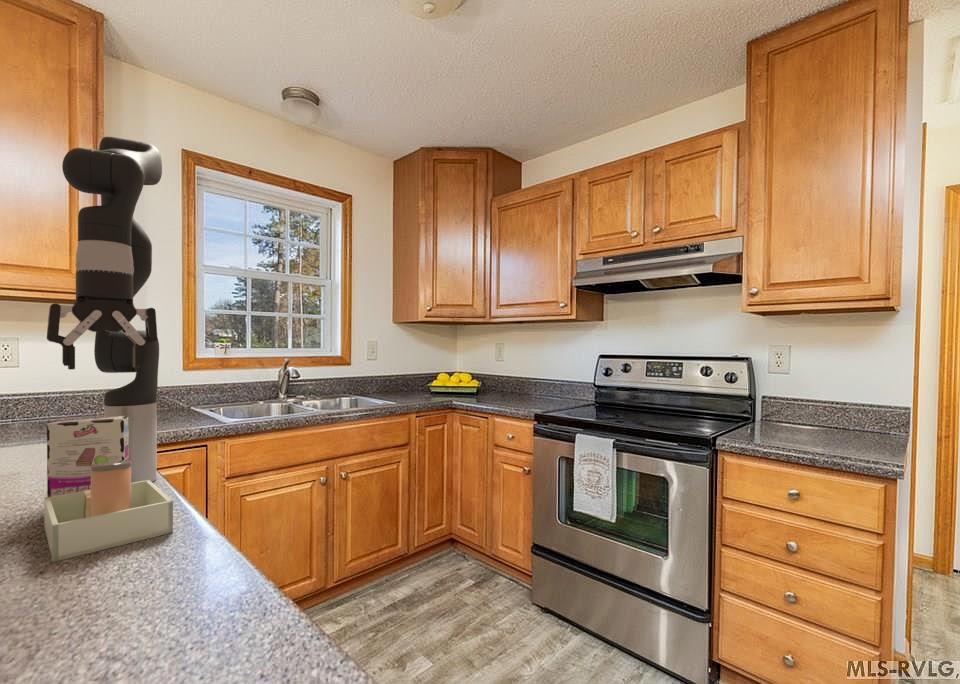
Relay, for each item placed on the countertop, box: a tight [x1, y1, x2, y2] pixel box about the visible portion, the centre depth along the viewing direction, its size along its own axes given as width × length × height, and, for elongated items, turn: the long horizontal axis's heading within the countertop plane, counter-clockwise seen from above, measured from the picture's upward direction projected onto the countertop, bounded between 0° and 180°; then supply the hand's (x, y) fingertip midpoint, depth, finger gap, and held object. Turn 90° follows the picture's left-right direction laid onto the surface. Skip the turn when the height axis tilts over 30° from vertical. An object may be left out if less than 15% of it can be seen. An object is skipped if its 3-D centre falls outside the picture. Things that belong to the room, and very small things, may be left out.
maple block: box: [84, 490, 91, 518], centre depth 78 cm, size 5×5×5 cm
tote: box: [43, 480, 174, 563], centre depth 76 cm, size 17×14×5 cm
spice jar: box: [90, 460, 132, 517], centre depth 73 cm, size 5×5×11 cm
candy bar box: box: [46, 416, 129, 498], centre depth 87 cm, size 11×5×16 cm, turn 117°
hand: (105, 368), depth 78 cm, fingers open, 8 cm apart
